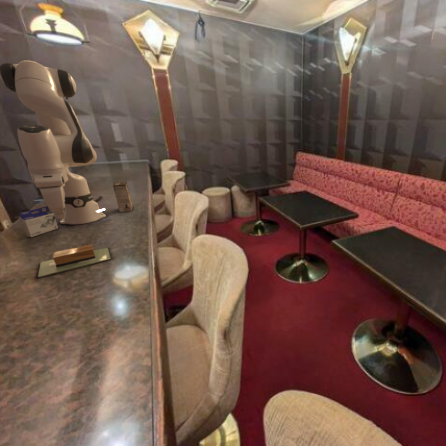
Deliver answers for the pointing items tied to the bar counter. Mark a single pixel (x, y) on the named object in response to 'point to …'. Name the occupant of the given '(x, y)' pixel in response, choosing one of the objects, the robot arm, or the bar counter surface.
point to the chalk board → (51, 268)
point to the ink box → (38, 221)
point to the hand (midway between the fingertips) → (62, 214)
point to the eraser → (73, 255)
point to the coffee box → (122, 196)
